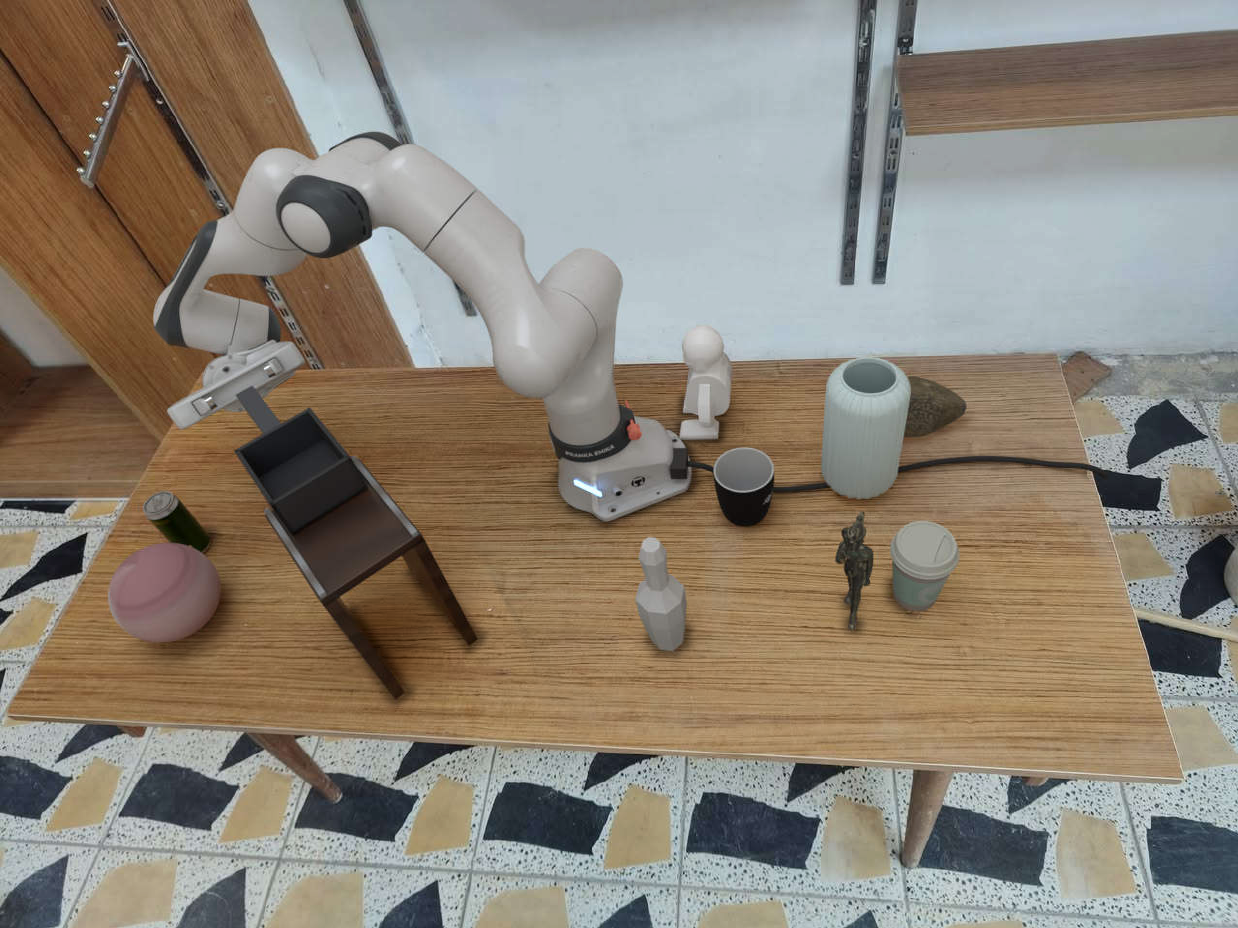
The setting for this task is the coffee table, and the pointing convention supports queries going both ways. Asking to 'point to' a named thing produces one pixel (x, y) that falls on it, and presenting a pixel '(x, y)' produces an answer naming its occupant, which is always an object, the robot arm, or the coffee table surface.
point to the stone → (931, 407)
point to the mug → (744, 485)
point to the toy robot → (705, 382)
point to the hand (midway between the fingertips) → (240, 387)
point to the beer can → (176, 521)
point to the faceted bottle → (660, 598)
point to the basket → (297, 464)
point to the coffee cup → (922, 563)
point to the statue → (855, 564)
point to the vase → (864, 426)
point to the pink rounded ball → (164, 592)
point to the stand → (366, 562)
